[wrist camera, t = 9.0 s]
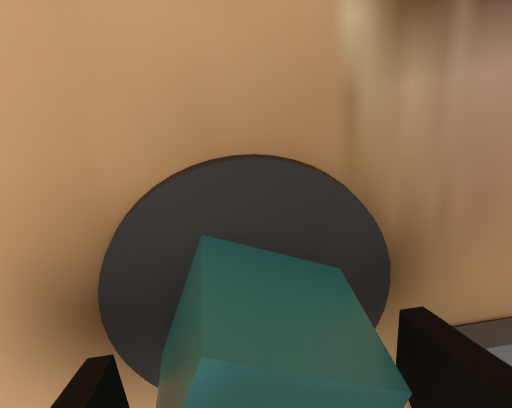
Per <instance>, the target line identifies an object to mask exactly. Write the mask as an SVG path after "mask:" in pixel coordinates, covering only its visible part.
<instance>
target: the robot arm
mask: <svg viewBox="0 0 512 408" xmlns="http://www.w3.org/2000/svg"><path fill="white" fill-rule="evenodd" d="M396 367H397V368H398V370H399V372H400V374H401V375H402V377H403V379H404V380H405V382H406V384H407V386H408V387H409V389H410V391H411V393H412V395H411V396H410V398H409V402H410V405H411V407H412V408H512V366H510V365H509V364H507V363H506V362H504V361H503V360H501V359H500V358H498V357H497V356H495V355H494V354H492V353H491V352H489V351H488V350H486V349H485V348H483V347H482V346H480V345H479V344H477V343H476V342H474V341H473V340H471V339H470V338H468V337H467V336H465V335H464V334H462V333H461V332H460V331H458V330H457V329H455V328H454V327H452V326H451V325H449V324H448V323H447V322H445V321H444V320H442V319H441V318H439V317H438V316H436V315H435V314H433V313H432V312H430V311H429V310H427V309H426V308H424V307H416V308H410V309H403V310H400V313H399V327H398V342H397V356H396ZM51 408H129V404H128V401H127V398H126V395H125V391H124V388H123V385H122V382H121V378H120V375H119V372H118V369H117V365H116V362H115V359H114V356H113V354H112V355H106V356H99V357H93V358H87V360H86V361H85V362H84V363H83V365H82V366H81V367H80V369H79V370H78V371H77V373H76V374H75V375H74V377H73V378H72V379H71V381H70V382H69V383H68V385H67V386H66V387H65V389H64V390H63V391H62V393H61V394H60V396H59V397H58V398H57V400H56V401H55V402H54V404H53V405H52V406H51Z"/></svg>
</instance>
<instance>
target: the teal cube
mask: <svg viewBox="0 0 512 408" xmlns="http://www.w3.org/2000/svg"><path fill="white" fill-rule="evenodd" d="M411 395H412V393H411V391H410V389H409V387H408V386H407V384H406V382H405V380H404V379H403V377H402V375H401V374H400V372H399V370H398V368H397V367H396V365H395V363H394V361H393V360H392V358H391V356H390V354H389V353H388V351H387V349H386V348H385V346H384V344H383V342H382V341H381V339H380V337H379V335H378V334H377V332H376V330H375V329H374V327H373V325H372V323H371V322H370V320H369V318H368V316H367V315H366V313H365V311H364V309H363V308H362V306H361V304H360V303H359V301H358V299H357V297H356V296H355V294H354V292H353V290H352V289H351V287H350V285H349V284H348V282H347V280H346V278H345V277H344V275H343V273H342V271H341V270H340V268H336V267H332V266H328V265H324V264H320V263H316V262H312V261H308V260H304V259H300V258H296V257H292V256H287V255H283V254H279V253H275V252H271V251H267V250H263V249H259V248H255V247H251V246H247V245H243V244H239V243H235V242H231V241H227V240H223V239H219V238H215V237H211V236H206V235H202V234H201V237H200V241H199V244H198V247H197V250H196V253H195V256H194V259H193V262H192V265H191V268H190V271H189V274H188V277H187V280H186V283H185V286H184V289H183V292H182V295H181V298H180V301H179V304H178V307H177V310H176V313H175V316H174V319H173V322H172V325H171V329H170V332H169V335H168V338H167V341H166V344H165V347H164V350H163V354H162V362H161V370H160V378H159V387H158V395H157V403H156V408H403V407H404V406H405V404H406V403H407V401H408V400H409V398H410V396H411Z"/></svg>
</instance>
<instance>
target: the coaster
mask: <svg viewBox="0 0 512 408" xmlns="http://www.w3.org/2000/svg"><path fill="white" fill-rule="evenodd" d="M201 234H202V235H206V236H211V237H215V238H219V239H223V240H227V241H231V242H235V243H239V244H243V245H247V246H251V247H255V248H259V249H263V250H267V251H271V252H275V253H279V254H283V255H287V256H292V257H296V258H300V259H304V260H308V261H312V262H316V263H320V264H324V265H328V266H332V267H336V268H340V270H341V271H342V273H343V275H344V277H345V278H346V280H347V282H348V284H349V285H350V287H351V289H352V290H353V292H354V294H355V296H356V297H357V299H358V301H359V303H360V304H361V306H362V308H363V309H364V311H365V313H366V315H367V316H368V318H369V320H370V322H371V323H372V325H373V327H374V329H375V328H376V326H377V325H378V322H379V320H380V318H381V315H382V313H383V311H384V308H385V304H386V301H387V297H388V292H389V285H390V262H389V256H388V251H387V247H386V244H385V241H384V238H383V235H382V233H381V231H380V229H379V227H378V225H377V223H376V222H375V220H374V218H373V217H372V215H371V214H370V213H369V212H368V210H367V209H366V208H365V206H364V205H363V204H362V203H361V202H360V201H359V200H358V198H357V197H356V196H355V195H354V194H352V193H351V192H350V191H349V190H348V189H347V188H346V187H345V186H344V185H343V184H341V183H340V182H339V181H337V180H336V179H334V178H333V177H331V176H330V175H328V174H326V173H325V172H323V171H321V170H319V169H317V168H315V167H313V166H310V165H307V164H304V163H301V162H298V161H296V160H292V159H287V158H282V157H277V156H267V155H238V156H229V157H224V158H218V159H213V160H209V161H206V162H203V163H200V164H197V165H194V166H191V167H189V168H187V169H185V170H183V171H180V172H178V173H176V174H174V175H172V176H170V177H169V178H167V179H166V180H164V181H163V182H161V183H160V184H158V185H156V186H155V187H154V188H153V189H151V190H150V191H149V192H148V193H147V194H146V195H144V196H143V197H142V198H141V199H140V200H139V201H138V202H137V203H136V204H135V205H134V206H133V208H132V209H131V210H130V211H129V212H128V213H127V215H126V216H125V218H124V219H123V221H122V222H121V224H120V225H119V227H118V228H117V230H116V232H115V234H114V237H113V239H112V241H111V243H110V245H109V248H108V250H107V252H106V255H105V257H104V261H103V265H102V268H101V272H100V278H99V287H98V296H99V309H100V313H101V318H102V322H103V325H104V328H105V330H106V333H107V335H108V338H109V339H110V341H111V343H112V344H113V346H114V348H115V350H116V351H117V353H118V354H119V355H120V356H121V357H122V359H123V360H124V361H125V362H126V364H127V365H129V366H130V367H131V368H132V369H133V370H134V371H135V372H136V373H137V374H138V375H140V376H141V377H142V378H144V379H145V380H147V381H148V382H149V383H151V384H152V385H154V386H156V387H159V378H160V370H161V362H162V354H163V350H164V347H165V344H166V341H167V338H168V335H169V332H170V329H171V325H172V322H173V319H174V316H175V313H176V310H177V307H178V304H179V301H180V298H181V295H182V292H183V289H184V286H185V283H186V280H187V277H188V274H189V271H190V268H191V265H192V262H193V259H194V256H195V253H196V250H197V247H198V244H199V241H200V237H201Z"/></svg>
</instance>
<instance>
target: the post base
mask: <svg viewBox="0 0 512 408" xmlns="http://www.w3.org/2000/svg"><path fill="white" fill-rule="evenodd" d="M454 328H455V329H457V330H458V331H460V332H461V333H462V334H464V335H465V336H467V337H468V338H470V339H471V340H473V341H474V342H476V343H477V344H479V345H480V346H482V347H483V348H485V349H486V350H488V351H489V352H491V353H492V354H494V355H495V356H497V357H498V358H500V359H501V360H503V361H504V362H506V363H507V364H509V365H510V366H512V318H506V319H500V320H494V321H488V322H482V323H476V324H469V325H463V326H457V327H454Z"/></svg>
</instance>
